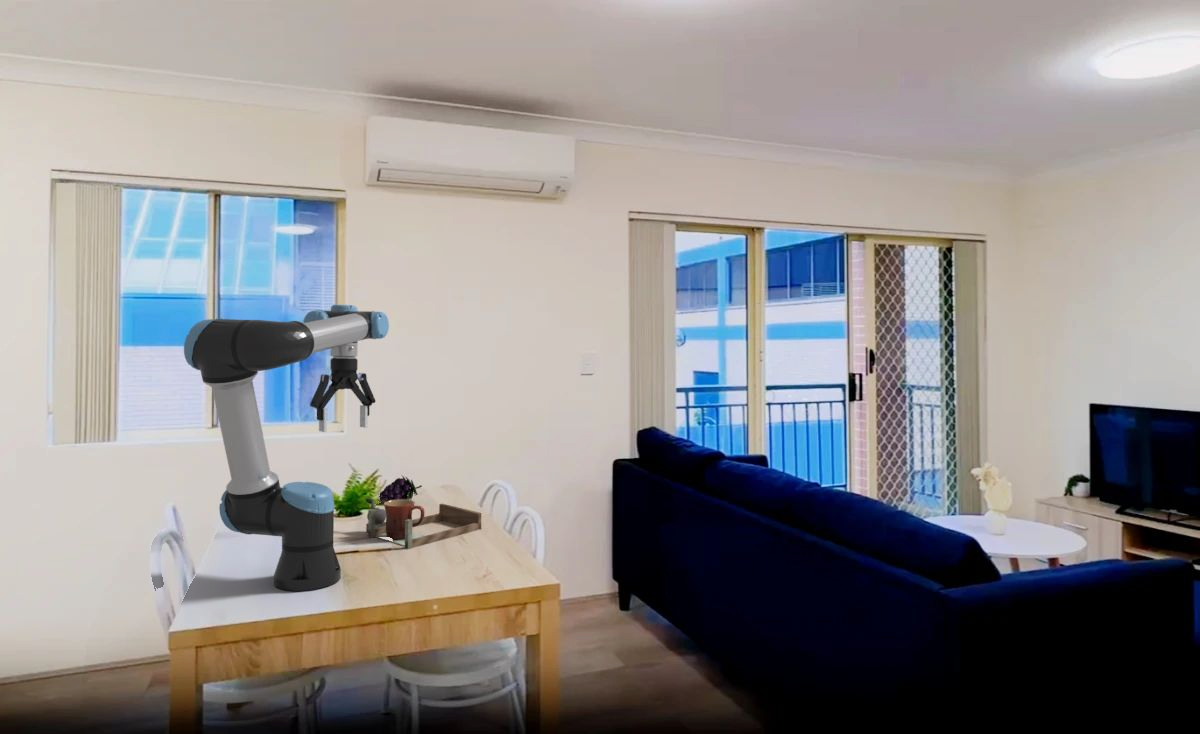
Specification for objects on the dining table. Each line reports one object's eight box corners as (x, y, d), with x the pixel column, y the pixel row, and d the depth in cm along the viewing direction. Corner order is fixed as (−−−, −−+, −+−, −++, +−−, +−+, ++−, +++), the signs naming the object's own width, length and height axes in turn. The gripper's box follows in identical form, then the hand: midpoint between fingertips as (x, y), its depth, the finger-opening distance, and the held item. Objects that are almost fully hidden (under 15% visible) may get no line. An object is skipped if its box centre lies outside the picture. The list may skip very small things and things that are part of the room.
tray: (408, 549, 204) (408, 514, 204) (355, 532, 219) (356, 500, 219) (481, 528, 226) (481, 497, 226) (429, 515, 241) (429, 485, 241)
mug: (378, 540, 210) (378, 505, 210) (390, 532, 219) (390, 498, 219) (418, 542, 209) (418, 507, 209) (428, 534, 218) (429, 500, 217)
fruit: (381, 510, 259) (422, 496, 265) (384, 512, 250) (427, 498, 255) (374, 482, 259) (415, 469, 265) (376, 483, 250) (419, 470, 256)
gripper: (312, 358, 201) (311, 434, 202) (387, 357, 221) (387, 426, 222) (297, 357, 206) (297, 431, 207) (372, 356, 226) (372, 424, 227)
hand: (343, 429), depth 215 cm, fingers open, 13 cm apart
